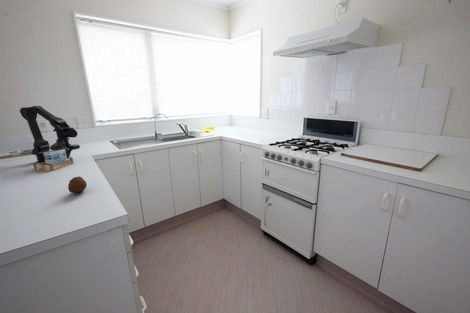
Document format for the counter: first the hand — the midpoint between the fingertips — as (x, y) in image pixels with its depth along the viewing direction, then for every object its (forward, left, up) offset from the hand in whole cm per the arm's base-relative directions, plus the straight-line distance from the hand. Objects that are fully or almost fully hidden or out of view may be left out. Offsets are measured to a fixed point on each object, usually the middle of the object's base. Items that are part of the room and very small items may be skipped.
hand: (67, 158), depth 160 cm
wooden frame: (0, -11, -3) cm, 11 cm away
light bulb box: (0, -8, -3) cm, 9 cm away
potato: (+52, -49, -3) cm, 71 cm away
